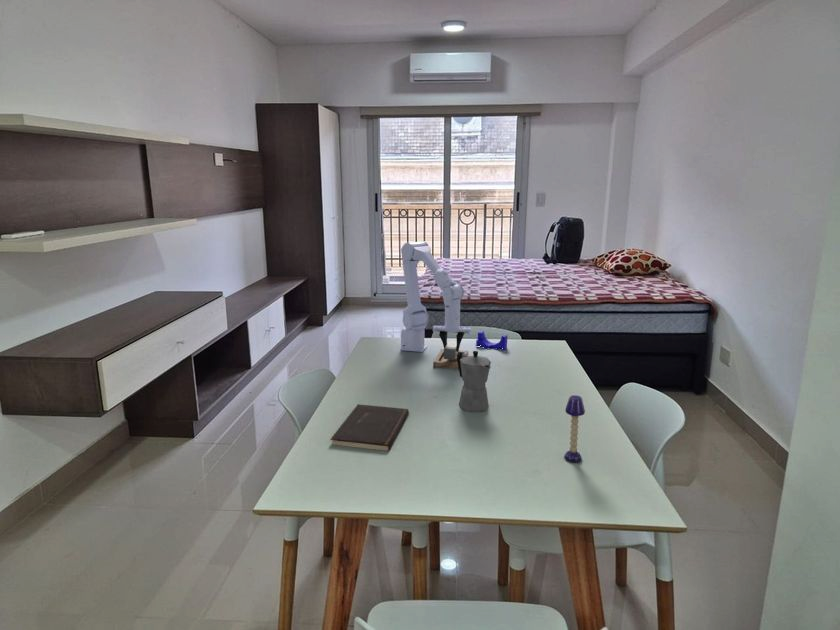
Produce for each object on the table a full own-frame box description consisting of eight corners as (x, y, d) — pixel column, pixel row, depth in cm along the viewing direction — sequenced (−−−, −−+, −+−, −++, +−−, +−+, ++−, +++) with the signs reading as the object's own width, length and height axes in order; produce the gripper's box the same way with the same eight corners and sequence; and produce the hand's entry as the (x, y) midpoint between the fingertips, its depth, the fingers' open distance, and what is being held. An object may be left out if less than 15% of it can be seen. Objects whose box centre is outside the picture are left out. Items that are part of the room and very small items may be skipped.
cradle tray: (433, 367, 201) (433, 362, 201) (441, 353, 216) (441, 349, 216) (462, 369, 199) (462, 364, 198) (468, 356, 214) (468, 351, 213)
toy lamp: (567, 464, 133) (573, 401, 129) (558, 455, 138) (562, 394, 134) (584, 461, 135) (590, 399, 131) (574, 452, 139) (579, 392, 135)
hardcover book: (330, 446, 142) (330, 438, 142) (357, 411, 164) (357, 404, 164) (389, 453, 139) (388, 445, 139) (408, 416, 161) (408, 408, 161)
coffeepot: (499, 410, 164) (502, 354, 160) (475, 417, 159) (477, 359, 155) (468, 393, 177) (469, 341, 172) (444, 399, 172) (445, 346, 167)
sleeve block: (448, 350, 212) (448, 340, 211) (458, 351, 211) (458, 341, 210) (443, 358, 202) (444, 348, 201) (454, 359, 202) (454, 349, 200)
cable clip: (476, 347, 226) (476, 333, 225) (480, 344, 230) (480, 330, 228) (502, 351, 220) (503, 337, 219) (506, 348, 224) (507, 335, 223)
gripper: (431, 317, 201) (431, 352, 204) (470, 320, 198) (468, 355, 201) (435, 313, 208) (434, 346, 211) (472, 315, 204) (471, 349, 208)
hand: (451, 350), depth 206 cm, fingers closed on sleeve block, 4 cm apart
